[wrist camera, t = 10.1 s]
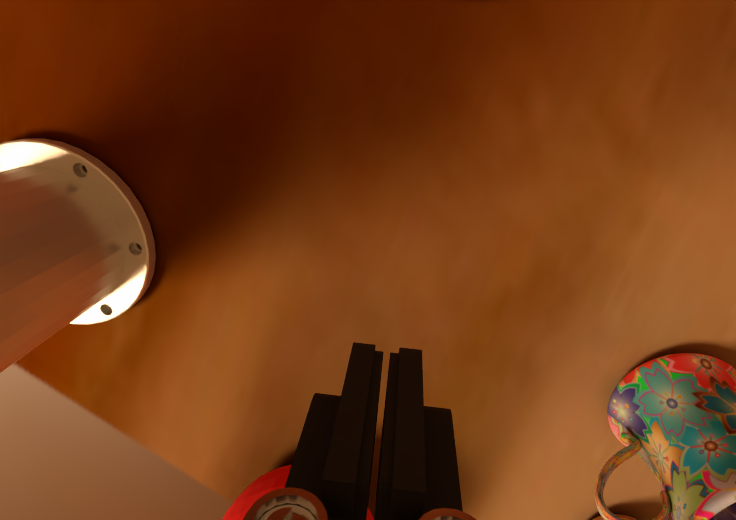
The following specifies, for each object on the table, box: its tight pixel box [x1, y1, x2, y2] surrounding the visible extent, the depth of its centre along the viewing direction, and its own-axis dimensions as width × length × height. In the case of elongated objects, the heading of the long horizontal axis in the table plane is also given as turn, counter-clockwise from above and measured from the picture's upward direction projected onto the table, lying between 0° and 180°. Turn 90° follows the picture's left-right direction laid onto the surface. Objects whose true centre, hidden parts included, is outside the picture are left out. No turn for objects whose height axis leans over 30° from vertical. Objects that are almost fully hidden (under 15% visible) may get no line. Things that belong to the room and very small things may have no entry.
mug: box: [595, 353, 736, 520], centre depth 25 cm, size 12×9×11 cm
